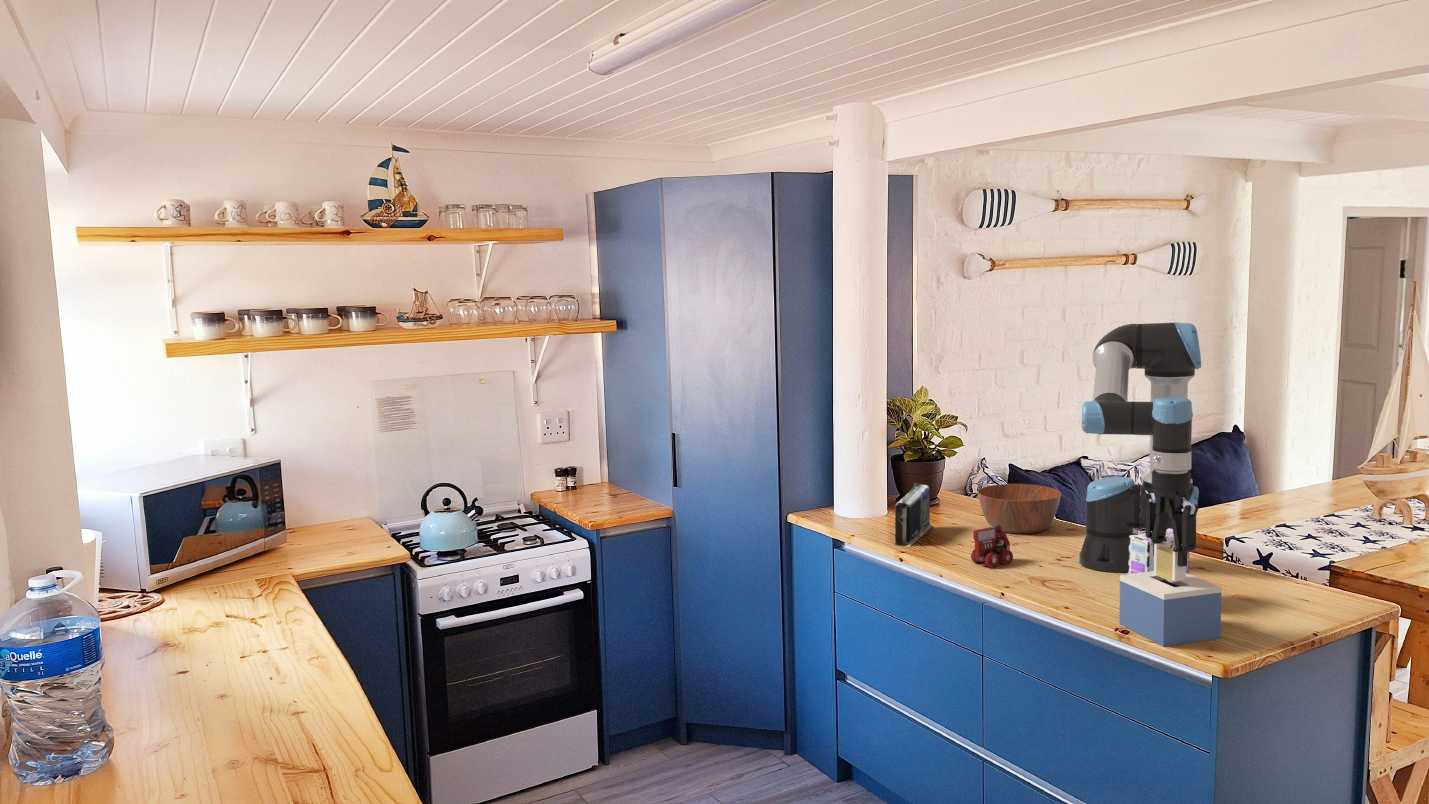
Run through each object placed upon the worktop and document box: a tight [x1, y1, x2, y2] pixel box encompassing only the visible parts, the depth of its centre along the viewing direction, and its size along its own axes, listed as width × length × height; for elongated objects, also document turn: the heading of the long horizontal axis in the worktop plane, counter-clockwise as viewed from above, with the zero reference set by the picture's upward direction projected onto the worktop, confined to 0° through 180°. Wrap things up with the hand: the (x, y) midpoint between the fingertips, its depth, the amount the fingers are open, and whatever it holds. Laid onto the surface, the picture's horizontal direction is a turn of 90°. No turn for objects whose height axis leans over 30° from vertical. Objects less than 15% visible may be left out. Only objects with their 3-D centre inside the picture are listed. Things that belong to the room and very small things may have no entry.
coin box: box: [1119, 571, 1222, 647], centre depth 202 cm, size 14×14×11 cm
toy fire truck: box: [970, 525, 1014, 569], centre depth 256 cm, size 7×12×10 cm, turn 118°
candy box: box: [1127, 528, 1190, 574], centre depth 221 cm, size 14×6×16 cm, turn 114°
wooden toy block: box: [1156, 548, 1176, 582], centre depth 201 cm, size 5×2×6 cm, turn 13°
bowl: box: [976, 483, 1062, 535], centre depth 292 cm, size 25×25×11 cm
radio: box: [893, 482, 934, 548], centre depth 286 cm, size 23×9×15 cm, turn 144°
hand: (1169, 576), depth 201 cm, fingers closed on wooden toy block, 5 cm apart
